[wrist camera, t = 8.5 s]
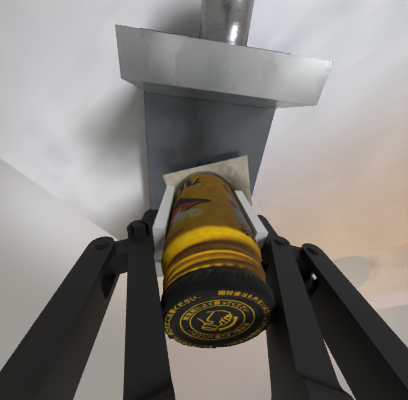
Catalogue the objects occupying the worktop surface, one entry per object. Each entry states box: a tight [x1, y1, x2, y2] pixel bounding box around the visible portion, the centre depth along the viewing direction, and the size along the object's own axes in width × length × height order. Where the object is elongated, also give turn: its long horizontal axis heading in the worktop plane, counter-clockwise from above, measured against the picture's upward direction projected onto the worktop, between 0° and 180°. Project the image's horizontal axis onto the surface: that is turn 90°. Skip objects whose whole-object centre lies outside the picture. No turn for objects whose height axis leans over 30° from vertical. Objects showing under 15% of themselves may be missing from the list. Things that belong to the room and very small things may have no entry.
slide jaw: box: [115, 0, 333, 109], centre depth 10 cm, size 8×11×6 cm
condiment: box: [161, 155, 275, 348], centre depth 12 cm, size 7×8×12 cm
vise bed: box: [140, 28, 288, 277], centre depth 15 cm, size 20×12×7 cm, turn 174°
